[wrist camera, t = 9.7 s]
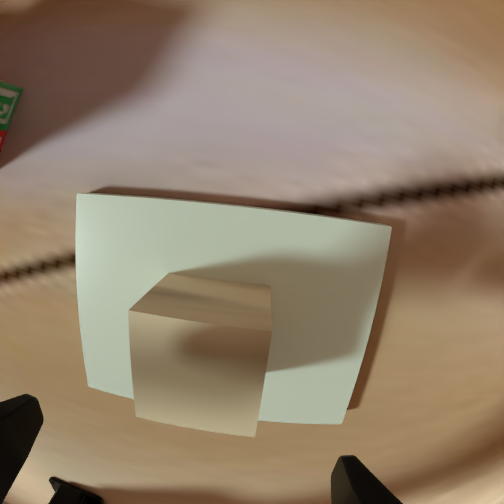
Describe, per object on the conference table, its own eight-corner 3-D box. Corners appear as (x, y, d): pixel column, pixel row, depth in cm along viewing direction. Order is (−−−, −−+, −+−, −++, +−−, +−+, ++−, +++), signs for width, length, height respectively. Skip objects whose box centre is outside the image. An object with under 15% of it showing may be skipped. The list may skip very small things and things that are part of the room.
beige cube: (258, 373, 16) (254, 436, 11) (166, 360, 16) (136, 416, 11) (270, 285, 15) (272, 331, 10) (168, 272, 15) (128, 310, 10)
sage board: (338, 412, 18) (341, 424, 17) (96, 377, 18) (88, 386, 17) (383, 223, 16) (392, 226, 14) (88, 192, 16) (77, 193, 15)
